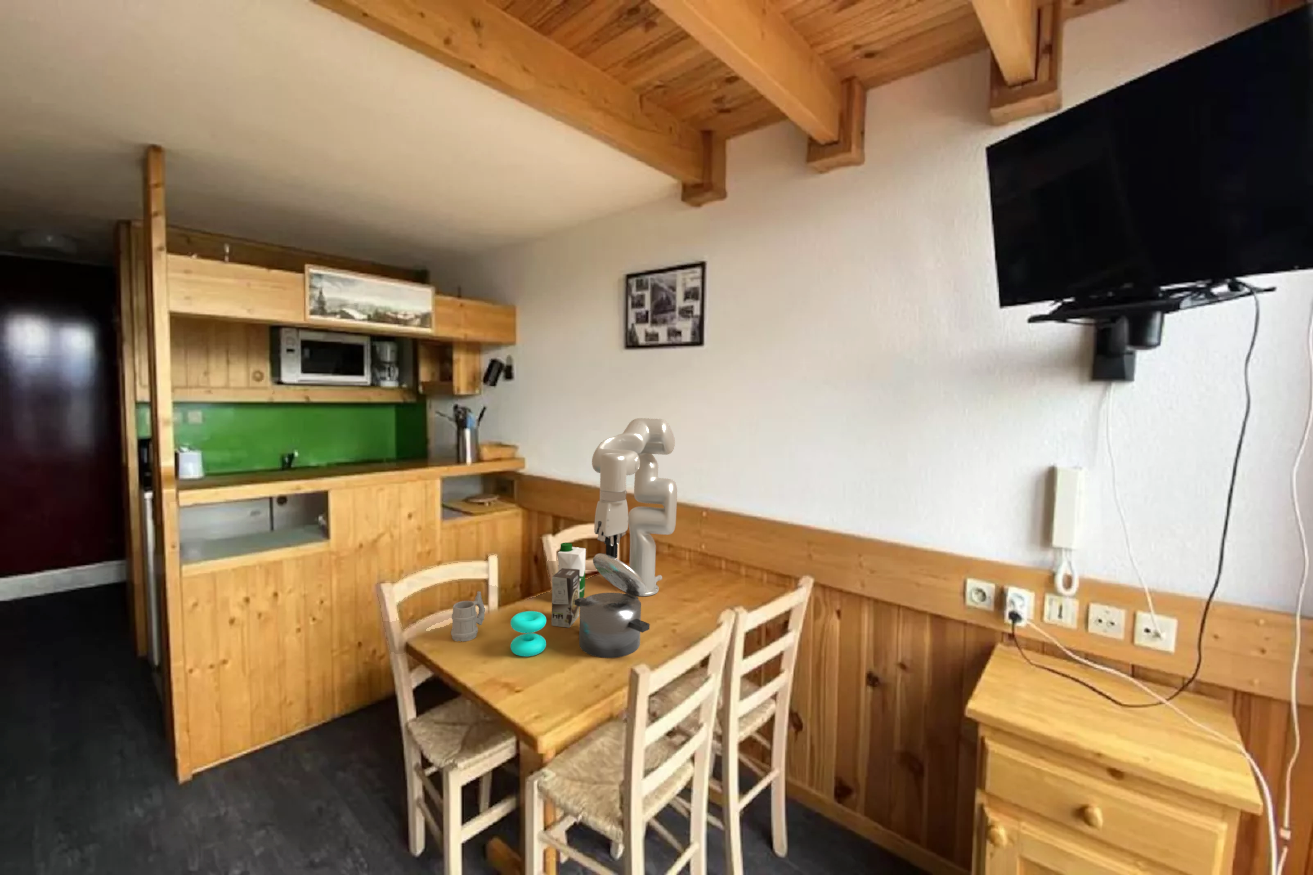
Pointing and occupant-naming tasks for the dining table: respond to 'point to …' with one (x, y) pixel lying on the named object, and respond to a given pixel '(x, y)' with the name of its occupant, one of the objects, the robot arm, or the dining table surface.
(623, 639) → the cooker pot
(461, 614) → the mug
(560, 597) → the coffee box
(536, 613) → the donuts
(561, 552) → the milk carton
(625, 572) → the lid
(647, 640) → the dining table surface
